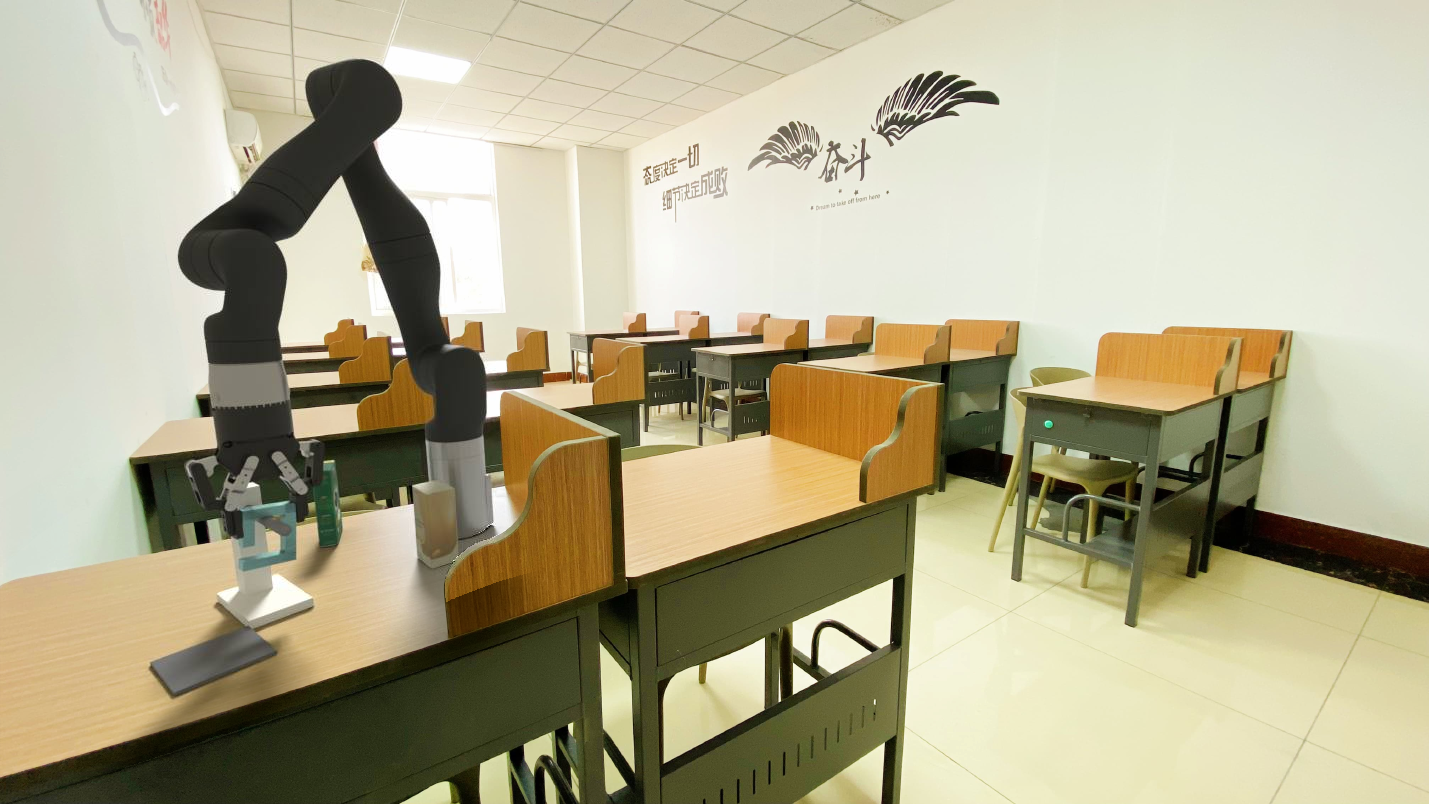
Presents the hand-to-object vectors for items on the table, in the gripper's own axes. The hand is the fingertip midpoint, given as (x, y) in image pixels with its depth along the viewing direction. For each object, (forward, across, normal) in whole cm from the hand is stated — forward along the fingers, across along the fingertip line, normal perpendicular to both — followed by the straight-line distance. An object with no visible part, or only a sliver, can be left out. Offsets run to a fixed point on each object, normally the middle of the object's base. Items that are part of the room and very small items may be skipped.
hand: (268, 528), depth 73 cm
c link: (+5, +1, 0) cm, 5 cm away
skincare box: (+12, -21, +1) cm, 24 cm away
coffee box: (+12, -15, -22) cm, 29 cm away
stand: (+12, 0, -3) cm, 12 cm away
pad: (+12, +8, +5) cm, 15 cm away
